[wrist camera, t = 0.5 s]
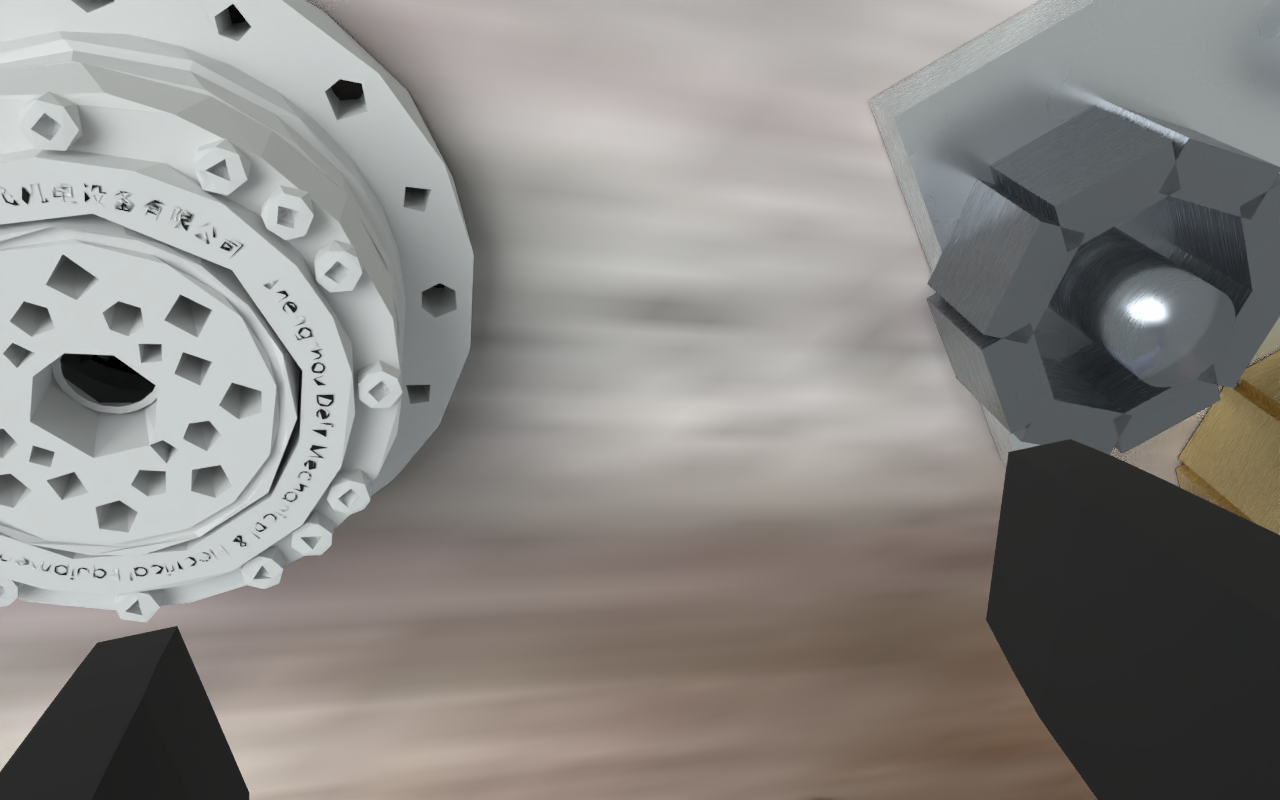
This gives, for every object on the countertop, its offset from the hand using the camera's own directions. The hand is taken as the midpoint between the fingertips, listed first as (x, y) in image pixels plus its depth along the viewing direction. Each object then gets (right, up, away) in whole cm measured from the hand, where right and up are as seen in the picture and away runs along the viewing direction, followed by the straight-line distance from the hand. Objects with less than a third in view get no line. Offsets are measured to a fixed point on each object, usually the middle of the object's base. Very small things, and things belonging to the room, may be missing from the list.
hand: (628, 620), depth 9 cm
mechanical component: (-8, +4, +8) cm, 12 cm away
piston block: (+11, +6, +11) cm, 17 cm away
